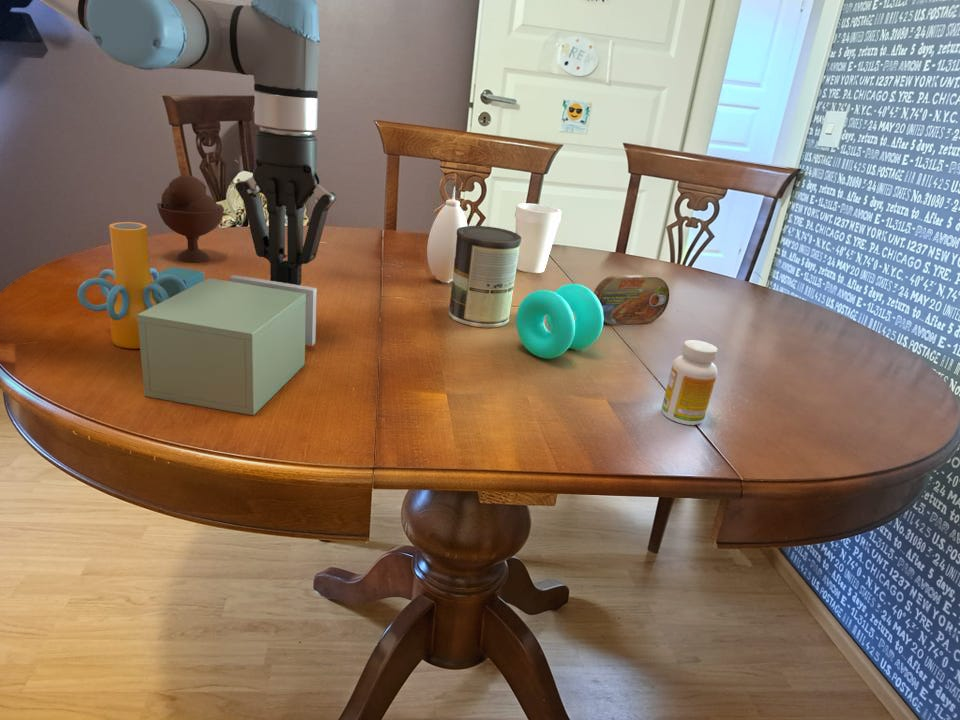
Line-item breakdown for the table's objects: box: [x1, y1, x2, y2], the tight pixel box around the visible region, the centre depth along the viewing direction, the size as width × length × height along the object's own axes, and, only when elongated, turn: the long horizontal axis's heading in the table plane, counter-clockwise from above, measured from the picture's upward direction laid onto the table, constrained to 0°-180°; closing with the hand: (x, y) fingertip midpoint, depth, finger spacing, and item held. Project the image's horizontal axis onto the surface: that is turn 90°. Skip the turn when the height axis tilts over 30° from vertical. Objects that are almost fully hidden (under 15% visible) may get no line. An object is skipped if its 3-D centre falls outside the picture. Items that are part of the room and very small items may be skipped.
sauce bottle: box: [426, 185, 468, 284], centre depth 123 cm, size 8×8×18 cm
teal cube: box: [158, 266, 205, 299], centre depth 98 cm, size 5×5×5 cm
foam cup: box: [514, 202, 562, 274], centre depth 140 cm, size 10×9×13 cm
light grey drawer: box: [229, 274, 318, 347], centre depth 85 cm, size 20×11×8 cm, turn 172°
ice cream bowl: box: [156, 174, 225, 264], centre depth 118 cm, size 11×11×15 cm
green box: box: [137, 277, 306, 416], centre depth 77 cm, size 15×13×10 cm
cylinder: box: [76, 221, 186, 350], centre depth 83 cm, size 12×10×15 cm
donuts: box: [515, 283, 605, 360], centre depth 98 cm, size 10×10×10 cm
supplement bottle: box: [661, 339, 718, 426], centre depth 83 cm, size 5×5×10 cm
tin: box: [593, 274, 670, 326], centre depth 115 cm, size 15×3×8 cm, turn 114°
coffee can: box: [448, 225, 522, 329], centre depth 107 cm, size 10×10×14 cm
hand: (285, 308), depth 92 cm, fingers closed
